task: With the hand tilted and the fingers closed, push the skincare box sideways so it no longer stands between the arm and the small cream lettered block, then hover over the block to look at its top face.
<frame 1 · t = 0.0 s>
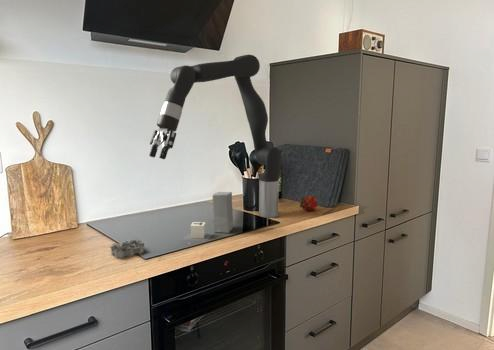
hand: (156, 157, 135), 31 cm above the worktop, tool tilted 20°, fingers open, 8 cm apart
reading mat: (198, 236, 143), on the worktop
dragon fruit: (309, 210, 186), on the worktop
grey lumpy piece: (128, 253, 125), on the worktop
skincare box: (223, 230, 152), on the worktop
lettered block: (198, 236, 143), on the worktop, touching reading mat
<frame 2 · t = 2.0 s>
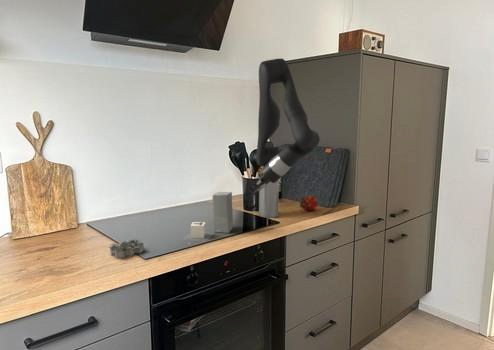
hand: (248, 195, 145), 16 cm above the worktop, tool tilted 45°, fingers open, 8 cm apart
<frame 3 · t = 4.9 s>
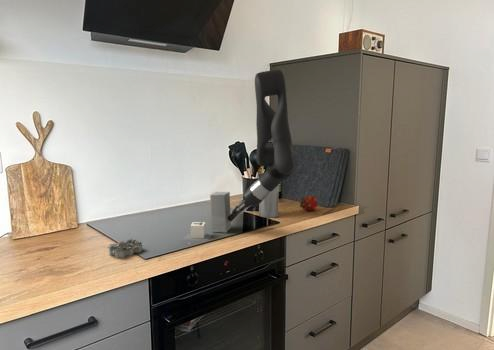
hand: (229, 219, 150), 5 cm above the worktop, tool tilted 45°, fingers closed
skincare box: (221, 230, 152), on the worktop, touching gripper
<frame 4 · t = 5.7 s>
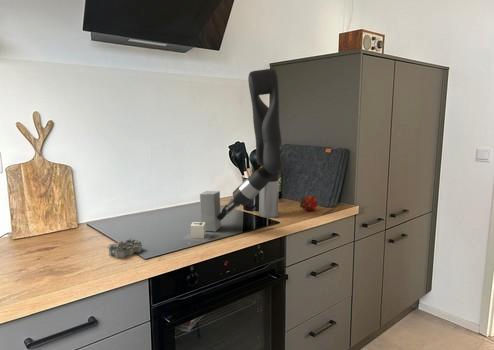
hand: (219, 218, 151), 5 cm above the worktop, tool tilted 45°, fingers closed
skincare box: (210, 229, 153), on the worktop, touching gripper
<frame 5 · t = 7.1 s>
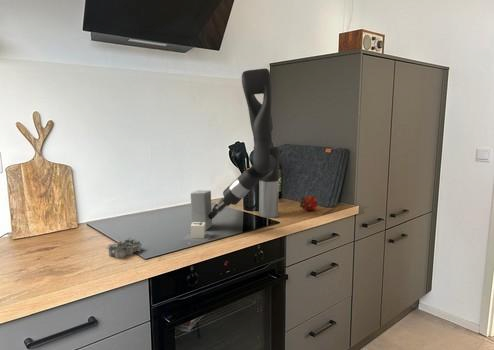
hand: (210, 217, 153), 5 cm above the worktop, tool tilted 45°, fingers closed
skincare box: (201, 228, 155), on the worktop, touching gripper
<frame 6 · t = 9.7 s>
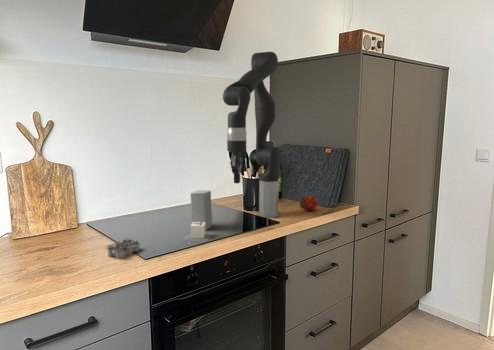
hand: (237, 182, 144), 21 cm above the worktop, tool pointing down, fingers closed
skincare box: (201, 228, 155), on the worktop
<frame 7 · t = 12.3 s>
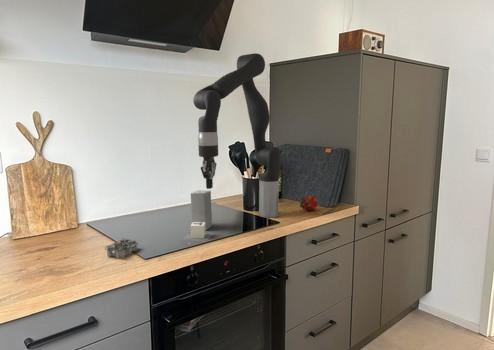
hand: (209, 188, 142), 19 cm above the worktop, tool pointing down, fingers closed
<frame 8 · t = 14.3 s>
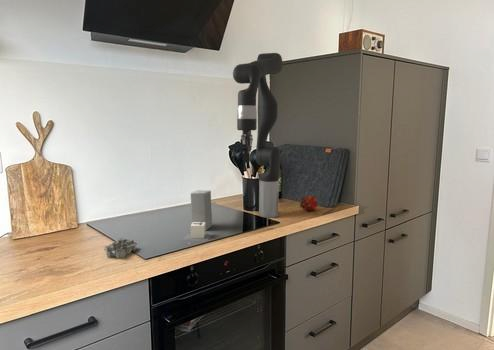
hand: (246, 162, 142), 29 cm above the worktop, tool pointing down, fingers closed
at the end: skincare box moved 9.9 cm from its start; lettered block moved 0.0 cm from its start; skincare box touching worktop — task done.
